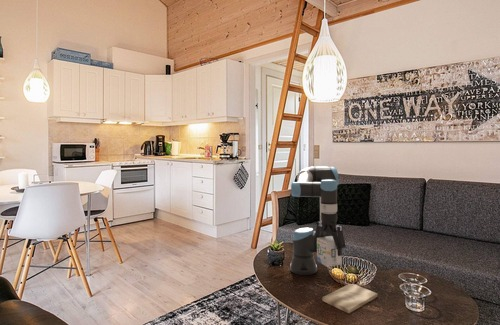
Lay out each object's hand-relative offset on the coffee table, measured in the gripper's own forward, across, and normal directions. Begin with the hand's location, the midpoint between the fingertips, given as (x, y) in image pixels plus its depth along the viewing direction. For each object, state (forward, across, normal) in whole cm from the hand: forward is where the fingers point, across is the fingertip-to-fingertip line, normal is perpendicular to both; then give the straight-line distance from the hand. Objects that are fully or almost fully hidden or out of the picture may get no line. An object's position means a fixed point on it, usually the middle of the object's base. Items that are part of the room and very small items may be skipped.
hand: (329, 259), depth 146 cm
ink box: (+2, 0, 0) cm, 2 cm away
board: (+16, +9, +3) cm, 19 cm away
